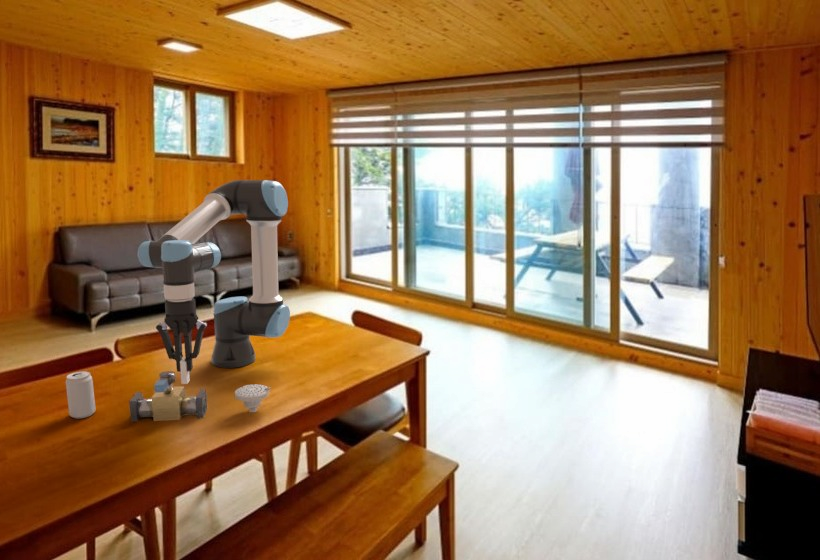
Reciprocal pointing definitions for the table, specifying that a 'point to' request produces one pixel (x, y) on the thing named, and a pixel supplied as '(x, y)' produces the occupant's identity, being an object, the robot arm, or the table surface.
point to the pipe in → (194, 404)
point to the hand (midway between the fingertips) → (185, 382)
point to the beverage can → (80, 395)
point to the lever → (164, 381)
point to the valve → (168, 403)
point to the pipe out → (140, 407)
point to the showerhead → (252, 395)
